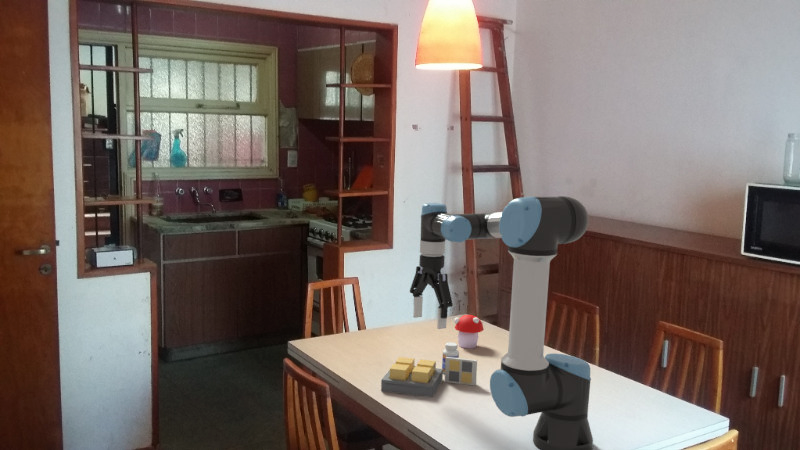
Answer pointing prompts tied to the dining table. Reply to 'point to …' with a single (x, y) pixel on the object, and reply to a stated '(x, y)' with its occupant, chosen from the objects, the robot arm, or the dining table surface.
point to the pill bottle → (449, 353)
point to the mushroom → (468, 330)
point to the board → (412, 385)
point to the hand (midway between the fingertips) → (429, 322)
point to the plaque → (460, 370)
